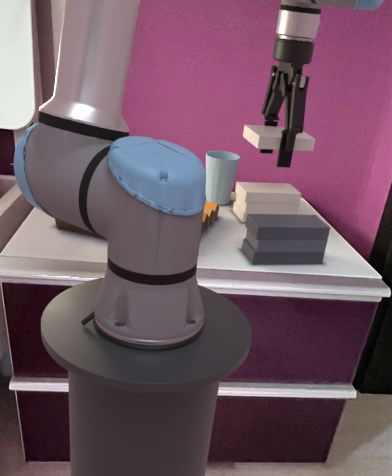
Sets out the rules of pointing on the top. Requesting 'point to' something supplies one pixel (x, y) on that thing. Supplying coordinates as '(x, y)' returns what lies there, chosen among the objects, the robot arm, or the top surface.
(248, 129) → the white book
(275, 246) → the grey books
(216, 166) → the cup
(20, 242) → the top surface
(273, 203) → the white books
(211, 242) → the top surface
